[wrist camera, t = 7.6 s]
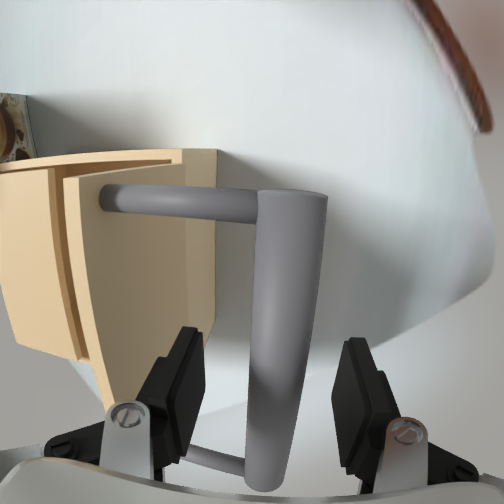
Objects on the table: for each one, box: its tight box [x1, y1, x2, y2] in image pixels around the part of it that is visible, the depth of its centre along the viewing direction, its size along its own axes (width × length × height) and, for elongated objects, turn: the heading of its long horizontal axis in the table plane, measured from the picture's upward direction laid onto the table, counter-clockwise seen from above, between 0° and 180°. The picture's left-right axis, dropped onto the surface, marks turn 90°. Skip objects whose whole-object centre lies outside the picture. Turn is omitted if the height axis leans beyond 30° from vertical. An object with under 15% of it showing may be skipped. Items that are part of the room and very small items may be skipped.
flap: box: [63, 163, 328, 492], centre depth 14 cm, size 8×14×8 cm
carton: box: [0, 149, 217, 365], centre depth 24 cm, size 16×16×11 cm
